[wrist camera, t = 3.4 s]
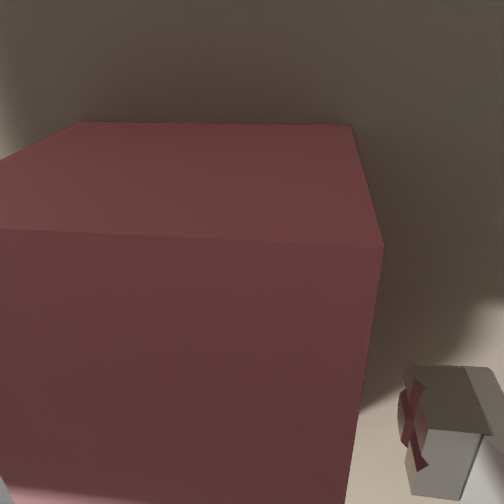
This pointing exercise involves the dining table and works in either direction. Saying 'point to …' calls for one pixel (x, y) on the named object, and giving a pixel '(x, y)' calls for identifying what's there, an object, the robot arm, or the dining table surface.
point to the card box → (184, 313)
